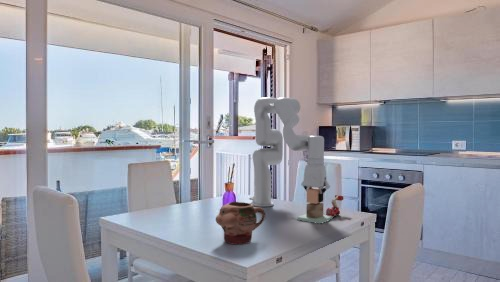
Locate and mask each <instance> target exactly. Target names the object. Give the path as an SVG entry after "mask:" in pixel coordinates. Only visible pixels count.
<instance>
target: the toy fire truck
mask: <svg viewBox="0 0 500 282" xmlns="http://www.w3.org/2000/svg"><path fill="white" fill-rule="evenodd" d="M343 200H344V196H343V195H338V194H337V195H336V194H335V195H334V199H332V200H331V201H330V202H331V205H332V207H331V208H330V207H328V208H326V211H325V213H326V214H325V215H328V216H333V217H334V216H337V215H339V214H340V215H341V211H340V208H339V207H338V205H337V202H336V201H343ZM340 215H339V216H340ZM337 217H338V216H337ZM334 218H335V217H334Z"/></svg>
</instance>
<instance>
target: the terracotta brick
mask: <svg viewBox="0 0 500 282" xmlns="http://www.w3.org/2000/svg"><path fill="white" fill-rule="evenodd" d="M318 197H319V189H318V187H312V188H311V189H307V192H306V203H307V204H309V203H315V204H317V203H324V200H323V201H322V202H318Z"/></svg>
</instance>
